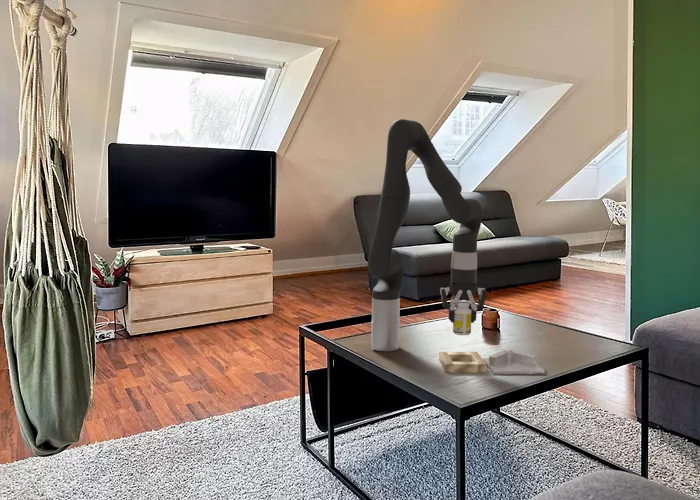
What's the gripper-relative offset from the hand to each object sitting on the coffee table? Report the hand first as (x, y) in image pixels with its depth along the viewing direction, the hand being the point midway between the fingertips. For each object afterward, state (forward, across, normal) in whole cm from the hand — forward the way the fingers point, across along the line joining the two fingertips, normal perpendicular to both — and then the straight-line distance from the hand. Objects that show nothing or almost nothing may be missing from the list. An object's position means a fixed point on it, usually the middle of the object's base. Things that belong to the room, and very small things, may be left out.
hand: (462, 321), depth 170 cm
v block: (+14, +15, -2) cm, 21 cm away
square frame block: (+14, 0, 0) cm, 14 cm away
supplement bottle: (+4, 0, 0) cm, 4 cm away
